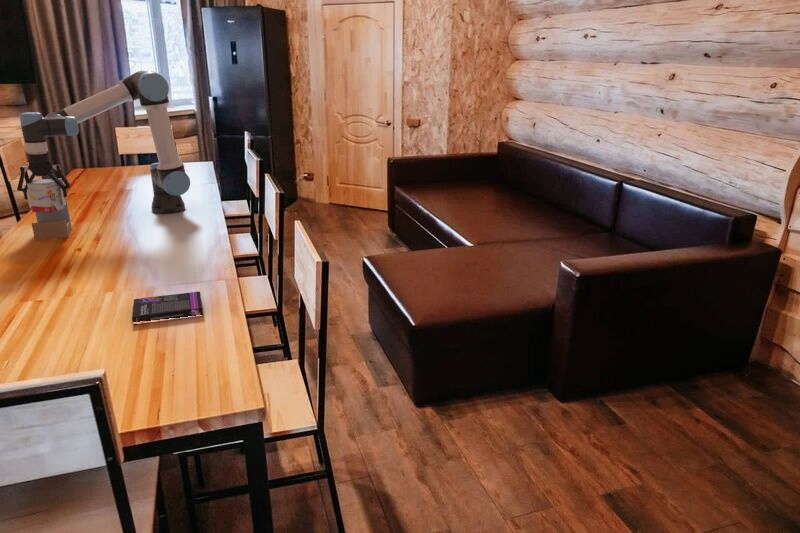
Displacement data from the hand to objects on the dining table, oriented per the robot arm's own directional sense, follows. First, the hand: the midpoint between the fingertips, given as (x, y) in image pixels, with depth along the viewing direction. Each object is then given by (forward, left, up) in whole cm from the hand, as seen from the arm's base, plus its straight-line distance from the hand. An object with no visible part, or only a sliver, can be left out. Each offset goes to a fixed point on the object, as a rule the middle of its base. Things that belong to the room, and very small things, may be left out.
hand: (48, 206), depth 238 cm
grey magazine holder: (0, 0, -12) cm, 12 cm away
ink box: (0, 0, -2) cm, 2 cm away
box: (-41, +95, -13) cm, 105 cm away
